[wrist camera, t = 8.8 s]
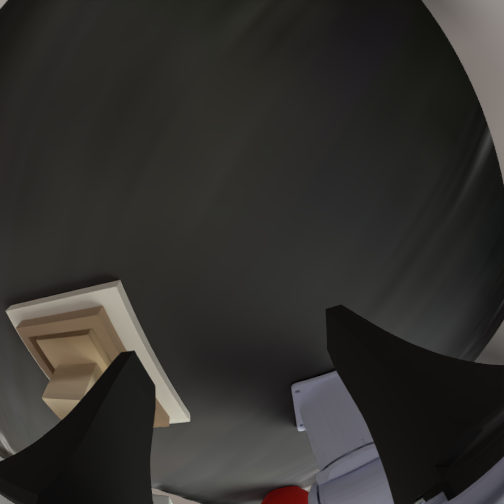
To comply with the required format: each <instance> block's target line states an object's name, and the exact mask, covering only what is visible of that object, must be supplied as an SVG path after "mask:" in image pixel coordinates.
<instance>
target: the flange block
mask: <svg viewBox="0 0 504 504" xmlns="http://www.w3.org/2000/svg"><path fill="white" fill-rule="evenodd" d="M36 341H37V343H38V344H39V346H40V348H41V349H42V351H43V352H44V354H45V355H46V357H47V358H48V360H49V361H50V363H51V364H52V366H53V367H54V369H55V371H54V373H53V375H52V377H51V379H50V381H49V383H48V385H47V388H46V390H45V392H44V394H43V396H42V399H43V400H44V401H45V402H46V404H47V405H48V406H49V407H50V408H51V409H52V410H53V412H54V413H55V414H56V415H57V416H58V417H59V418H60V419H61V420H62V419H63V418H65V417H66V416H67V415H68V414H69V413H70V412H71V410H72V409H73V408H74V407H75V406H76V405H77V404H78V403H79V401H80V400H81V399H82V398H83V397H84V396H85V395H86V393H87V392H88V391H89V390H90V389H91V388H92V386H93V385H94V384H95V383H96V381H97V380H98V379H99V378H100V376H101V375H102V374H103V373H104V371H105V370H106V369H107V368H108V367H109V365H110V364H111V363H112V360H111V359H110V357H109V355H108V354H107V352H106V350H105V349H104V347H103V345H102V344H101V342H100V340H99V338H98V337H97V335H96V333H95V331H94V329H93V328H91V329H84V330H78V331H71V332H64V333H56V334H49V335H41V336H39V337H38V338H37V340H36Z"/></svg>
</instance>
